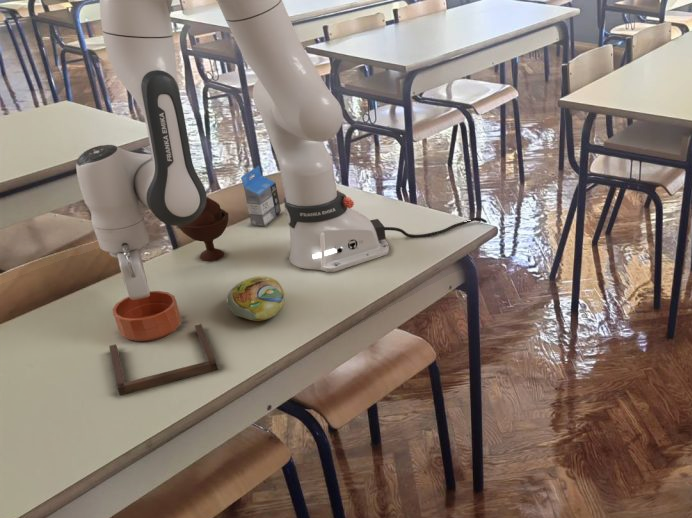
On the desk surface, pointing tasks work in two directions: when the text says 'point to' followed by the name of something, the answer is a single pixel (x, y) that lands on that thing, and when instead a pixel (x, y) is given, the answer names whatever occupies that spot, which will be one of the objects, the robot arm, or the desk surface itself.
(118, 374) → the frame
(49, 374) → the desk surface
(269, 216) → the blue and grey box
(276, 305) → the cell model
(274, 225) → the desk surface
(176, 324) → the bowl
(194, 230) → the ice cream bowl
